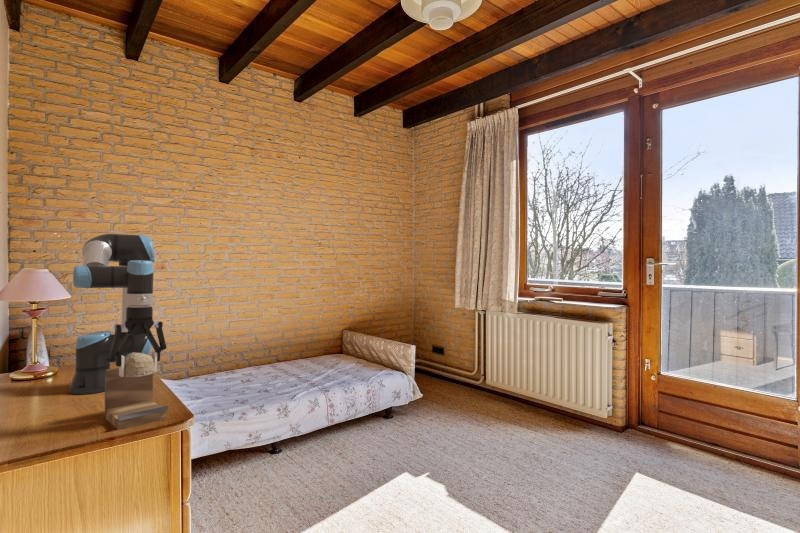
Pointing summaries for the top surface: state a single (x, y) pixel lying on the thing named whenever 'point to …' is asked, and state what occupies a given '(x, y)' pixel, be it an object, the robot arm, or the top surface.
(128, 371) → the sponge
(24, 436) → the top surface
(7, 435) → the top surface
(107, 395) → the board
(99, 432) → the top surface
